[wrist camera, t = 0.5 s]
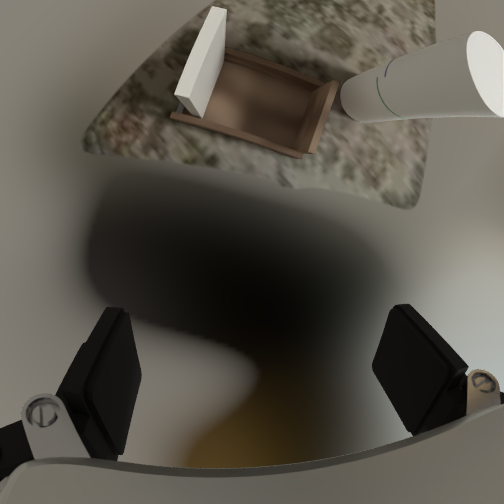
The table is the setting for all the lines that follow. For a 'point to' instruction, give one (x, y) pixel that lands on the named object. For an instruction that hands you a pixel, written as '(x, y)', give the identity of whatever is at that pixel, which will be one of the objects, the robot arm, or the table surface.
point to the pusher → (203, 64)
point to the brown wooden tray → (265, 105)
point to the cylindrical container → (432, 83)
